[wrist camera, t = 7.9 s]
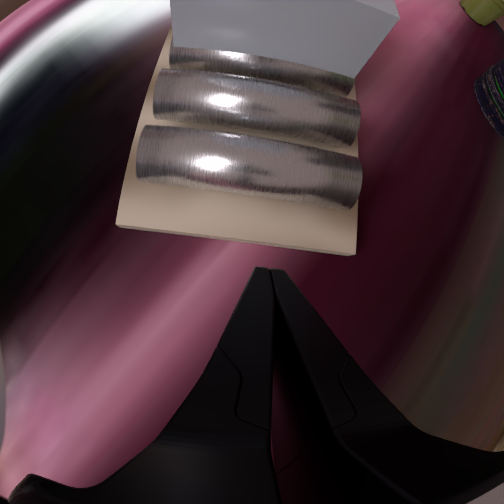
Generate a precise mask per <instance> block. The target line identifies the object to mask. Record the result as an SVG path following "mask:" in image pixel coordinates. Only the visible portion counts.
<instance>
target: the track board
mask: <svg viewBox="0 0 504 504" xmlns="http://www.w3.org/2000/svg"><path fill="white" fill-rule="evenodd" d="M172 35H173V33H172V26H171V29H170V31H169V34H168V36H167V39H166V41H165V44H164V46H163V49H162V52H161V54H160V57H159V60H158V62H157V65H156V68H155V71H154V74H153V77H152V80H151V83H150V86H149V89H148V92H147V95H146V98H145V101H144V105H143V108H142V111H141V115H140V118H139V122H138V125H137V129H136V133H135V136H134V140H133V144H132V148H131V152H130V156H129V160H128V165H127V169H126V173H125V178H124V182H123V187H122V192H121V197H120V202H119V207H118V213H117V218H116V225H117V226H119V227H120V228H129V229H137V230H146V231H154V232H162V233H171V234H179V235H187V236H195V237H204V238H212V239H220V240H228V241H236V242H244V243H252V244H260V245H268V246H276V247H283V248H291V249H299V250H307V251H315V252H322V253H330V254H338V255H345V256H350V255H355V254H356V239H357V216H358V199H357V201H356V203H355V205H354V206H353V207H352V208H351V209H350V210H348V211H344V210H338V209H333V208H327V207H321V206H316V205H310V204H304V203H297V202H291V201H285V200H278V199H272V198H265V197H258V196H251V195H244V194H237V193H229V192H222V191H214V190H206V189H198V188H189V187H180V186H171V185H162V184H152V183H141V182H139V181H138V180H137V176H136V152H137V146H138V142H139V138H140V135H141V132H142V130H143V128H144V127H145V125H147V124H149V125H163V126H175V127H186V128H196V129H205V130H213V131H221V132H229V133H236V134H243V135H250V136H256V137H262V138H268V139H274V140H280V141H285V142H291V143H296V144H301V145H306V146H311V147H316V148H320V149H325V150H329V151H334V152H338V153H342V154H347V155H351V156H355V157H357V158H358V133H357V136H356V138H355V140H354V142H353V144H352V145H351V146H350V147H349V148H347V149H344V148H340V147H336V146H332V145H327V144H323V143H318V142H314V141H309V140H304V139H299V138H294V137H289V136H284V135H278V134H273V133H267V132H261V131H255V130H248V129H241V128H234V127H227V126H219V125H211V124H203V123H193V122H183V121H172V120H159V119H155V118H154V115H153V94H154V88H155V83H156V80H157V77H158V74H159V72H160V70H161V69H162V68H170V65H169V51H170V44H171V39H172ZM345 98H348V99H352V100H355V101H356V90H355V82H354V85H353V87H352V89H351V91H350V93H349V94H348V96H347V97H345Z"/></svg>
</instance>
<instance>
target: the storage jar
mask: <svg viewBox="0 0 504 504" xmlns="http://www.w3.org/2000/svg"><path fill="white" fill-rule="evenodd" d="M474 88H475V93H476V97H477V100H478V102H479V105H480V107H481V109H482V111H483V113H484V114H485V116H486V118H487V119H488V121H489V122H490V124H491V125H492V127H493V128H494V129H495V130H496V131H497V133H498V134H499V135H500V136H501V137H503V138H504V60H501V61H499V62H498V63H497V64H495V65H493V66H492V67H490V68H489V69H488V70H487V72H485V73H484V74H483V76H480V77H478V78H477V79H476V80H475V83H474Z"/></svg>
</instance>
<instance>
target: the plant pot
mask: <svg viewBox="0 0 504 504" xmlns="http://www.w3.org/2000/svg"><path fill="white" fill-rule="evenodd" d="M460 4H461V6H462V7H464V9H465V11H466V13H467V14H468V15H469V16H470V17H471V18H472V19H473V20H474V21H476V22H477V23H479V24H482V25H483V26H486V25H487V24H489V23H491V22H492V21H494V20H495V19H497V18H499V17H501V16H502V15H504V0H461V1H460Z"/></svg>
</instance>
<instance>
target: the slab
mask: <svg viewBox="0 0 504 504" xmlns="http://www.w3.org/2000/svg"><path fill="white" fill-rule="evenodd" d="M170 7H171V20H172V33H173V44H174V47H188V48H201V49H212V50H221V51H230V52H237V53H244V54H251V55H257V56H263V57H269V58H274V59H279V60H284V61H289V62H294V63H298V64H302V65H307V66H311V67H315V68H319V69H323V70H327V71H330V72H334V73H338V74H341V75H344V76H348V77H351V78H355V77H356V76H357V74H358V73H359V72H360V70H361V69H362V68H363V66H364V65H365V64H366V62H367V61H368V60H369V58H370V57H371V56H372V54H373V53H374V52H375V50H376V49H377V48H378V46H379V45H380V44H381V42H382V41H383V40H384V38H385V37H386V36H387V35H388V33H389V32H390V31H391V29H392V28H393V27H394V25H395V24H396V23H397V21H398V20H399V19H400V17H399V14H398V11H397V7H396V4H395V2H394V0H170Z"/></svg>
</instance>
